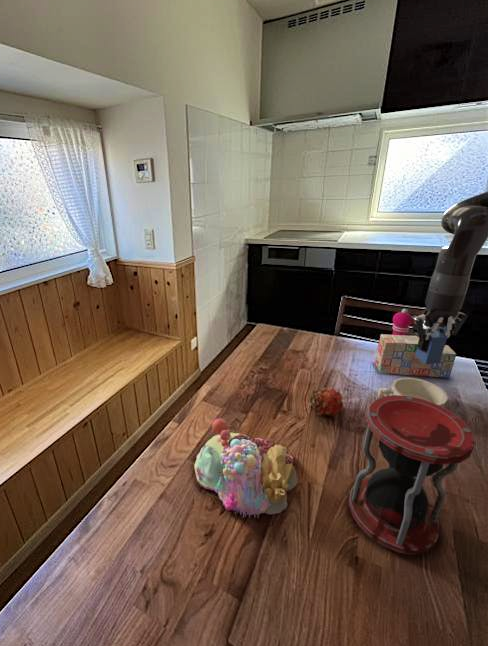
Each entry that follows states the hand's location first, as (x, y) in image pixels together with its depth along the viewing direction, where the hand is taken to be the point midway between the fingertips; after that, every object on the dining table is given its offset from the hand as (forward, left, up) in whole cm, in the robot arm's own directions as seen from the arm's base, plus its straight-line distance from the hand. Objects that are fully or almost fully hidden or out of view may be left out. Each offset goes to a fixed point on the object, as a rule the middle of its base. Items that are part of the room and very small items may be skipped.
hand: (430, 349), depth 90 cm
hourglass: (+15, +36, -21) cm, 45 cm away
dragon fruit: (+24, +4, -21) cm, 33 cm away
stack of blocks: (-7, -23, -21) cm, 32 cm away
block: (0, 0, -3) cm, 3 cm away
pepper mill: (-4, -31, -21) cm, 38 cm away
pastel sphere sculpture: (+46, +31, -21) cm, 60 cm away
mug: (0, -3, -21) cm, 21 cm away
